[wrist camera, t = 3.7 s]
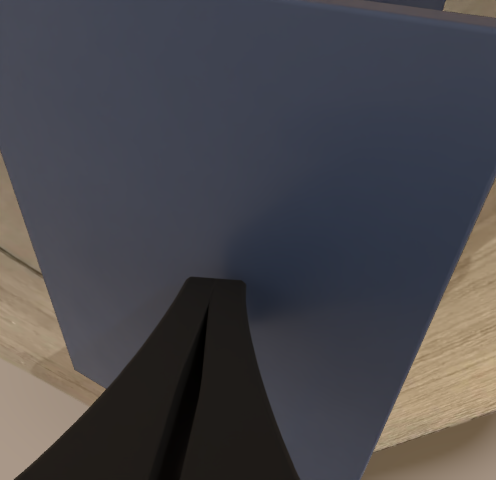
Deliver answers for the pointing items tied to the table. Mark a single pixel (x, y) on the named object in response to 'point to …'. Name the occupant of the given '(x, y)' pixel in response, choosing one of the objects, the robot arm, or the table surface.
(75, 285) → the lid
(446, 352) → the table surface
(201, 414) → the robot arm
